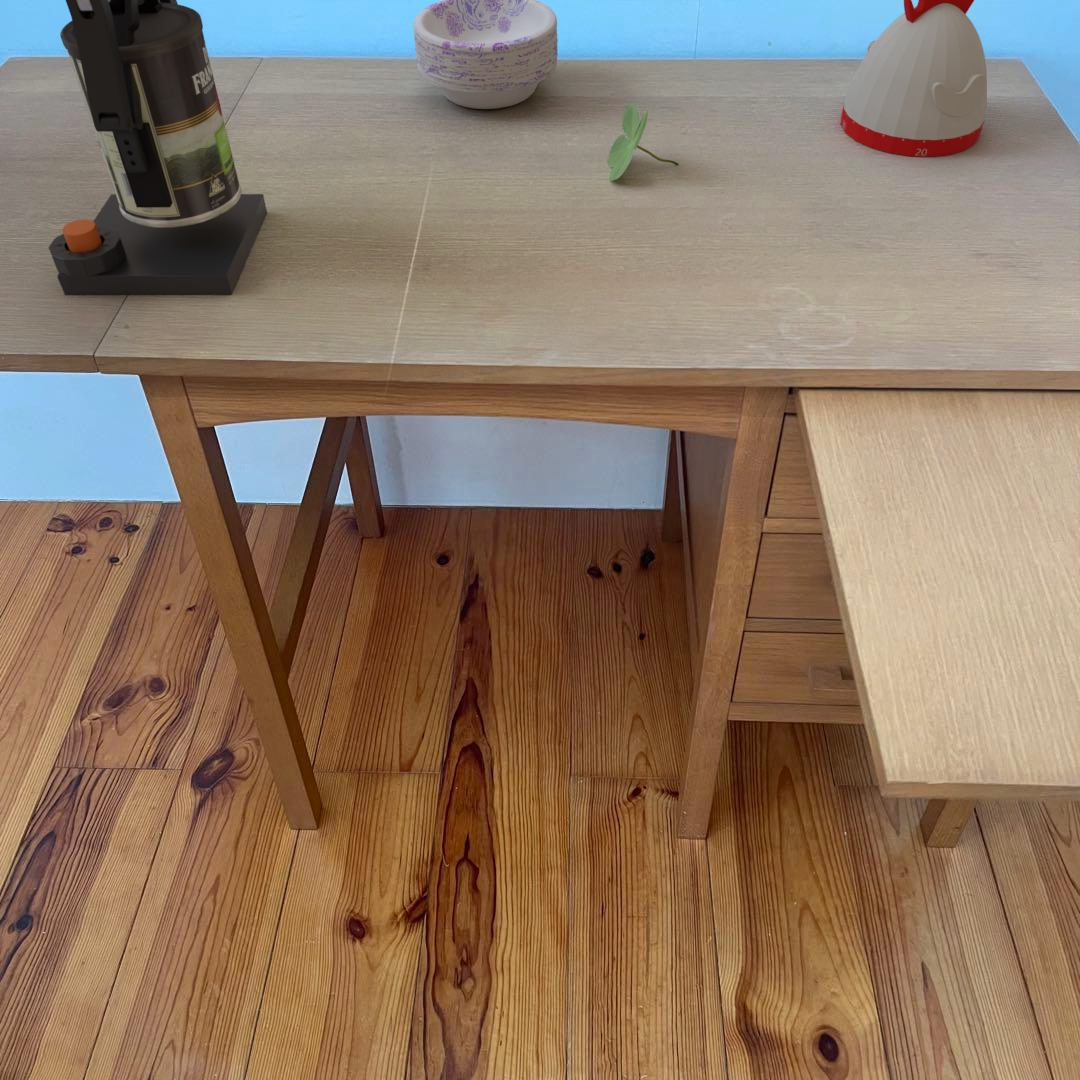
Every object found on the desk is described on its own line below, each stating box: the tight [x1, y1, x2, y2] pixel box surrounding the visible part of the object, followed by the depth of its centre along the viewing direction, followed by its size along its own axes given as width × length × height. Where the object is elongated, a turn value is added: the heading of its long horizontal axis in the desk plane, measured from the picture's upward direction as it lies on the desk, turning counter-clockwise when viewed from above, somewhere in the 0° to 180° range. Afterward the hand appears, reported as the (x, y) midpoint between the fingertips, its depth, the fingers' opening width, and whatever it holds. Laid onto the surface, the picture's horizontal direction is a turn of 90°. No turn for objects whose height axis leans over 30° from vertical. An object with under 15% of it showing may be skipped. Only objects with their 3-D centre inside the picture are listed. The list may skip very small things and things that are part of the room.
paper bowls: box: [412, 0, 559, 110], centre depth 108 cm, size 15×15×8 cm
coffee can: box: [59, 3, 243, 228], centre depth 81 cm, size 10×10×14 cm
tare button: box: [61, 218, 102, 253], centre depth 82 cm, size 3×3×2 cm
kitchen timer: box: [840, 0, 988, 158], centre depth 98 cm, size 14×14×15 cm
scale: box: [48, 193, 268, 296], centre depth 87 cm, size 15×14×4 cm
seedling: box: [607, 101, 680, 182], centre depth 97 cm, size 7×8×7 cm
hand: (173, 174), depth 84 cm, fingers closed on coffee can, 10 cm apart
